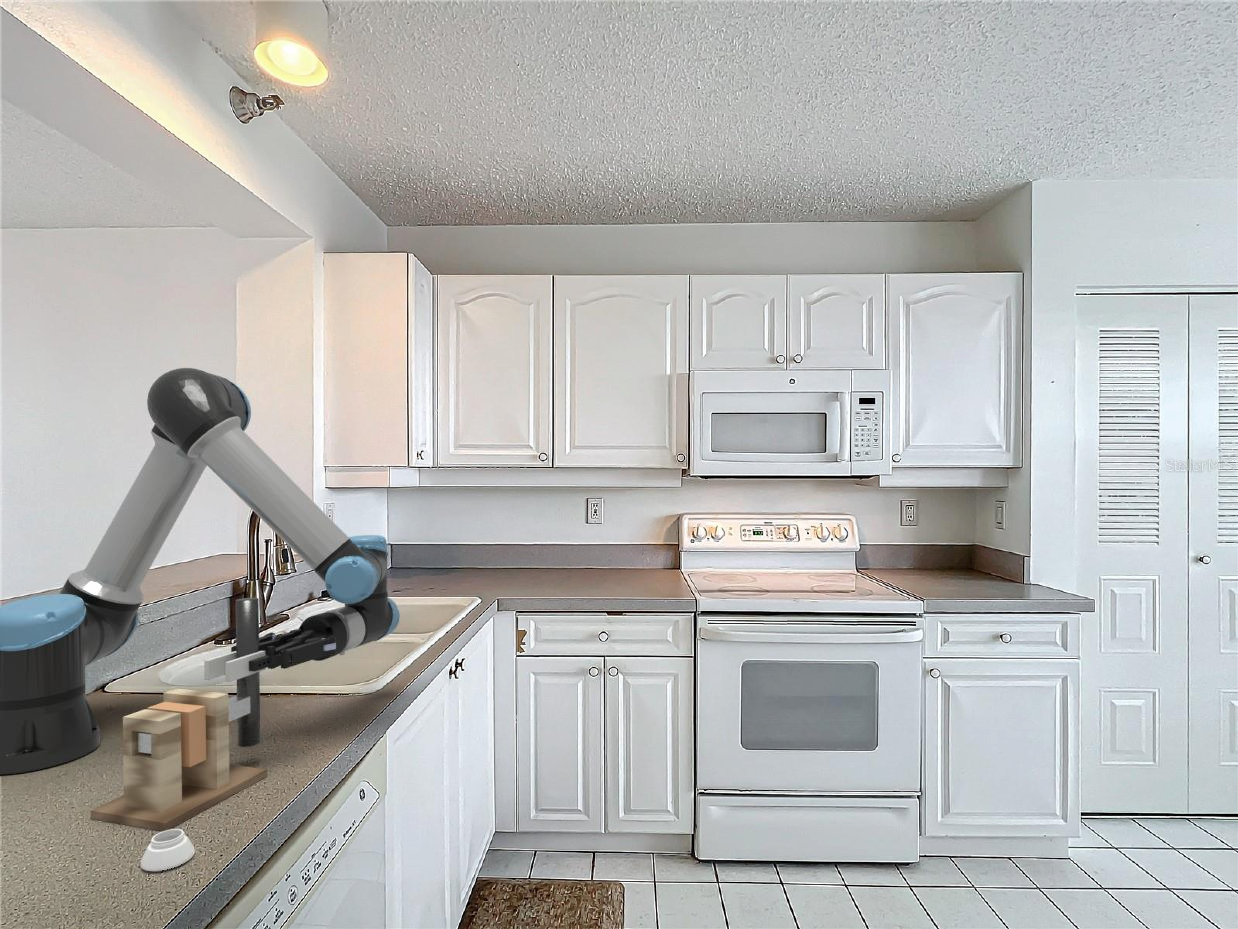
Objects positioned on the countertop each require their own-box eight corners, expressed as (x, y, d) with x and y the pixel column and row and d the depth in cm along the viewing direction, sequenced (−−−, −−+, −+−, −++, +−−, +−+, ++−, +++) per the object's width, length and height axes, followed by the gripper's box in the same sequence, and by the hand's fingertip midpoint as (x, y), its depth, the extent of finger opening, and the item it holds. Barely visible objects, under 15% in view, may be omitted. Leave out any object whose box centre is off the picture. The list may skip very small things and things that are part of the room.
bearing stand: (90, 818, 91) (89, 713, 91) (199, 767, 106) (198, 677, 106) (165, 831, 87) (163, 722, 87) (266, 776, 102) (265, 683, 102)
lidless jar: (200, 847, 84) (151, 854, 82) (200, 822, 84) (151, 827, 82) (185, 871, 79) (133, 878, 78) (185, 843, 79) (132, 850, 78)
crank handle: (136, 790, 92) (134, 622, 92) (248, 738, 109) (246, 597, 109) (155, 792, 91) (152, 623, 91) (265, 740, 108) (263, 598, 108)
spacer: (147, 761, 95) (147, 707, 95) (165, 754, 98) (164, 701, 98) (189, 767, 93) (189, 712, 93) (206, 759, 96) (205, 706, 96)
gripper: (371, 658, 122) (264, 703, 99) (292, 652, 127) (172, 693, 104) (370, 613, 122) (263, 647, 99) (291, 609, 127) (172, 641, 104)
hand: (217, 671), depth 102 cm, fingers closed on crank handle, 3 cm apart
